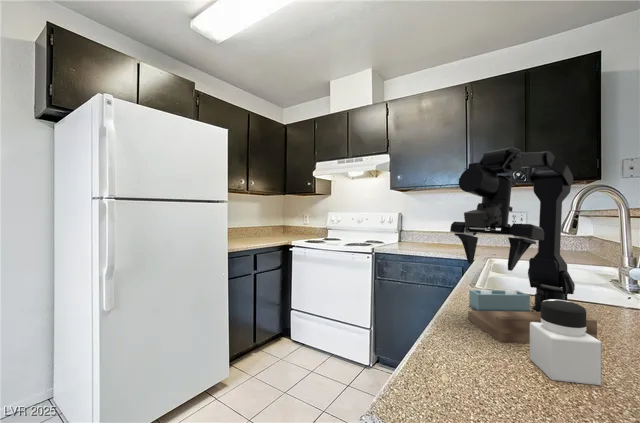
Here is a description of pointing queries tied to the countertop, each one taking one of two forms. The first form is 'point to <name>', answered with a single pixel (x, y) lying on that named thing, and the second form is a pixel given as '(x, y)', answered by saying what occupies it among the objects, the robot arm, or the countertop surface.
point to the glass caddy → (499, 300)
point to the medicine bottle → (565, 344)
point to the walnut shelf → (514, 324)
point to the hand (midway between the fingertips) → (488, 266)
